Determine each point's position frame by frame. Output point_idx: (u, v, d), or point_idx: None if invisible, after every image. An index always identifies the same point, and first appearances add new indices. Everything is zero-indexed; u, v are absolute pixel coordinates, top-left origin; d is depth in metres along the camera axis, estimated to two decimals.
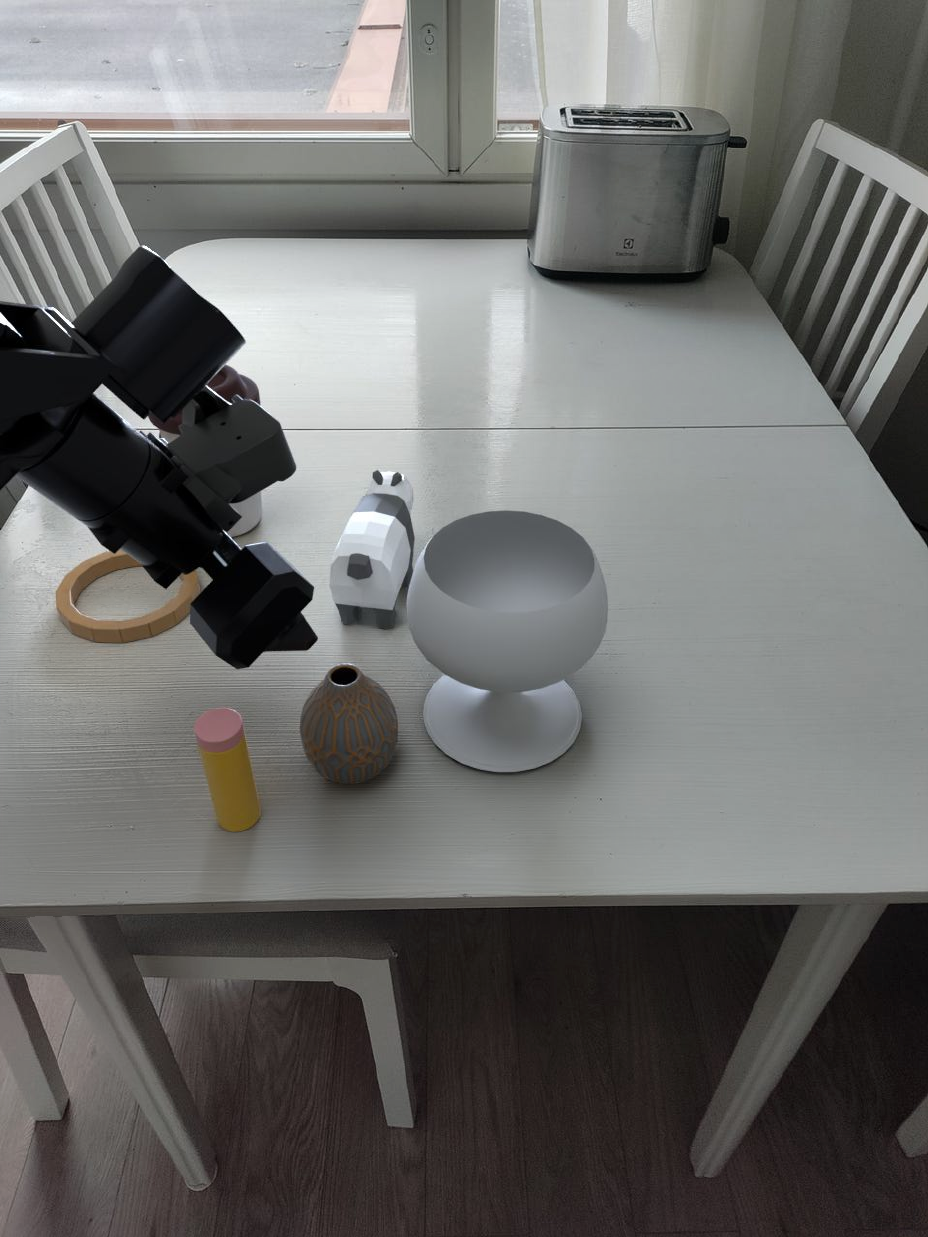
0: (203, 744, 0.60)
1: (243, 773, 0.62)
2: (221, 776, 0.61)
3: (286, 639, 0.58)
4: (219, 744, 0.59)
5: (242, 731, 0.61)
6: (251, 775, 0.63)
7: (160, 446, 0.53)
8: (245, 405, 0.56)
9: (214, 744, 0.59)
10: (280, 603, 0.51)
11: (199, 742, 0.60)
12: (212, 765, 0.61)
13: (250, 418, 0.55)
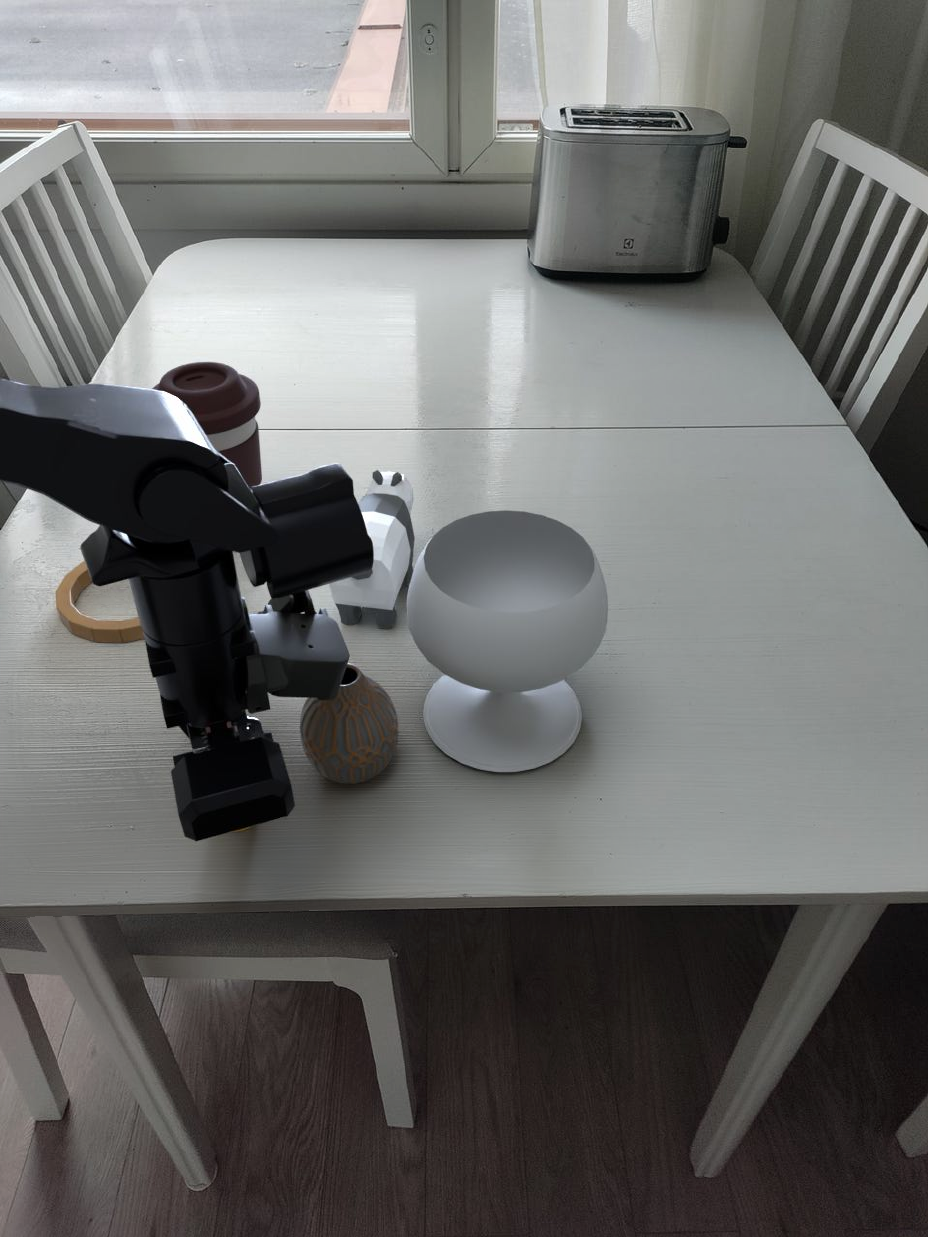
0: None
1: None
2: None
3: None
4: None
5: None
6: None
7: (245, 614, 0.57)
8: (328, 622, 0.60)
9: None
10: (261, 804, 0.52)
11: None
12: None
13: (327, 636, 0.59)
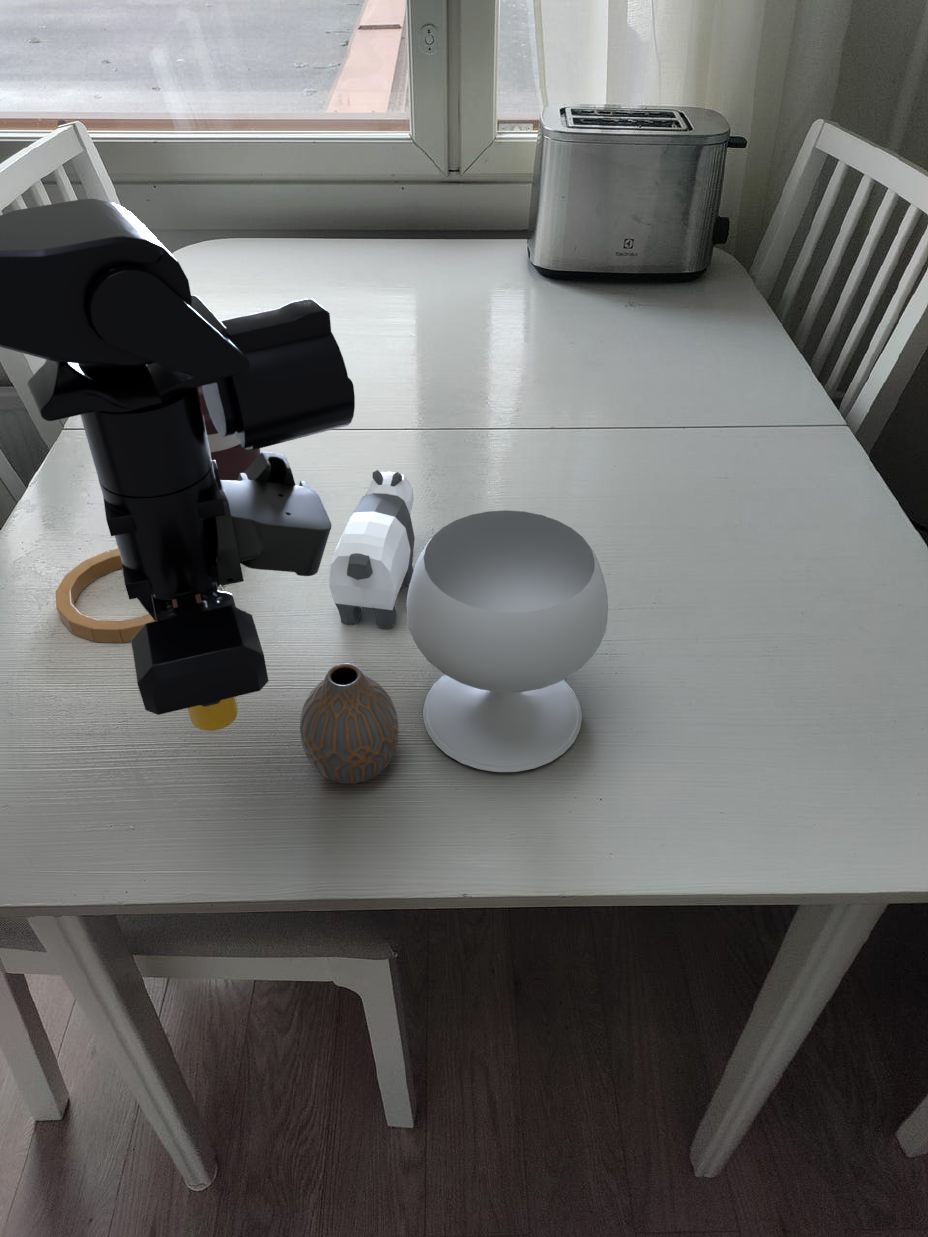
0: None
1: None
2: None
3: None
4: None
5: None
6: None
7: (215, 476, 0.52)
8: (309, 494, 0.55)
9: None
10: (230, 674, 0.47)
11: None
12: None
13: (307, 506, 0.54)
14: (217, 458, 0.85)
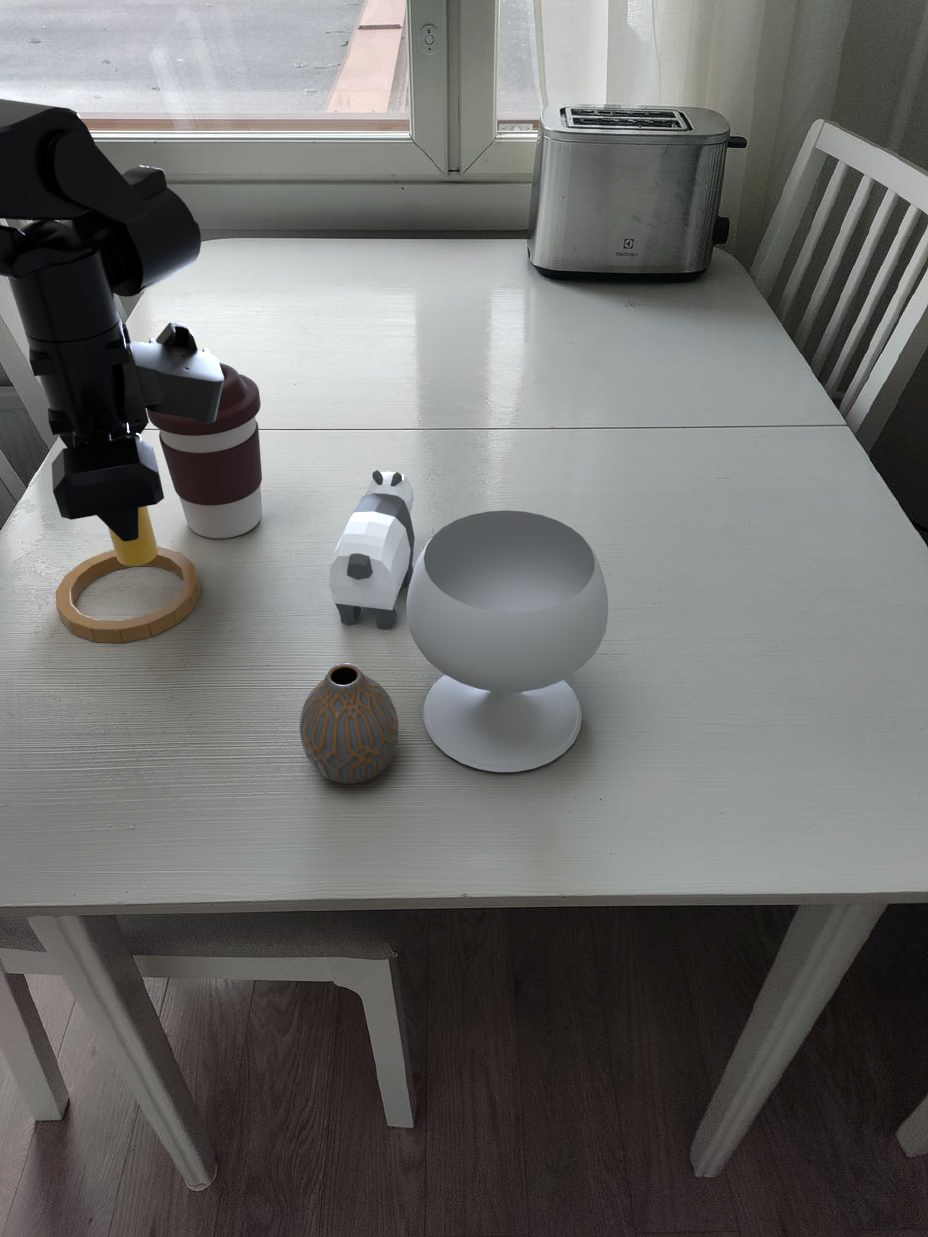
0: None
1: None
2: None
3: (113, 514, 0.66)
4: None
5: None
6: (144, 508, 0.69)
7: (125, 336, 0.63)
8: (208, 357, 0.66)
9: None
10: (130, 486, 0.58)
11: None
12: None
13: (205, 364, 0.65)
14: (217, 458, 0.85)
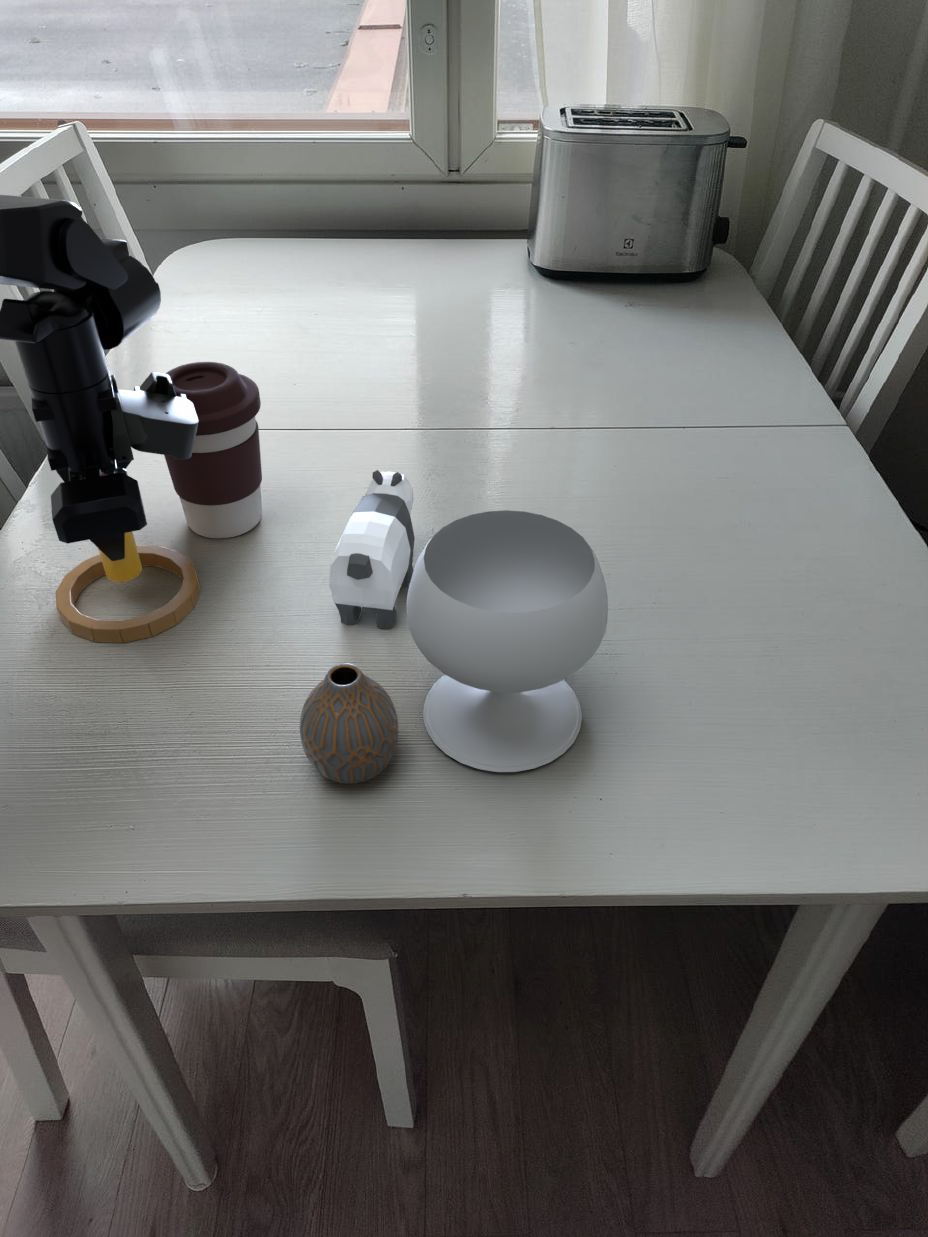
0: None
1: None
2: None
3: (103, 537, 0.77)
4: None
5: None
6: None
7: (113, 385, 0.73)
8: (185, 402, 0.77)
9: None
10: (117, 515, 0.69)
11: None
12: None
13: (182, 409, 0.75)
14: (217, 458, 0.85)
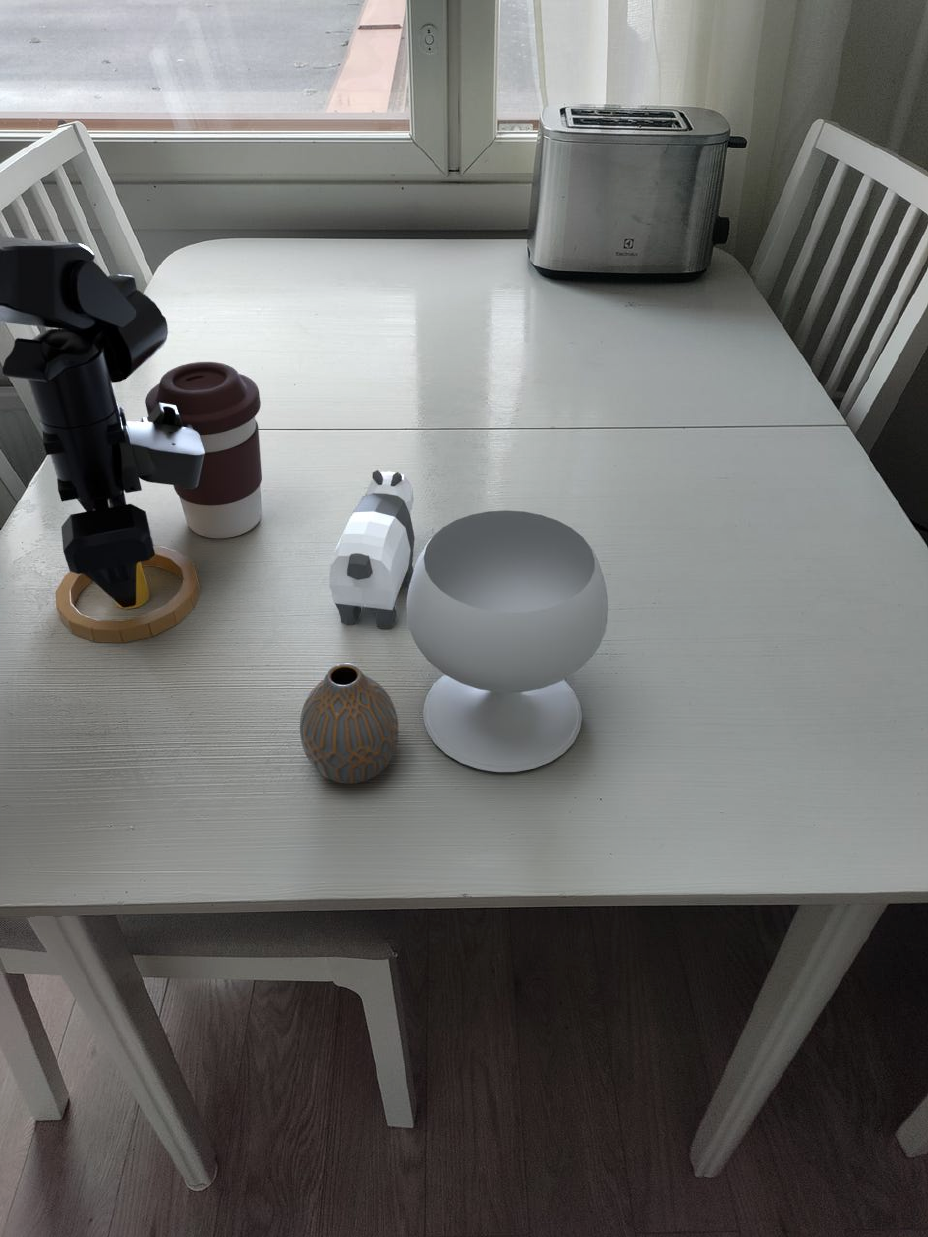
0: None
1: None
2: None
3: (114, 586, 0.76)
4: None
5: None
6: None
7: (122, 418, 0.75)
8: (191, 432, 0.78)
9: None
10: (126, 546, 0.70)
11: None
12: None
13: (189, 440, 0.77)
14: (217, 458, 0.85)
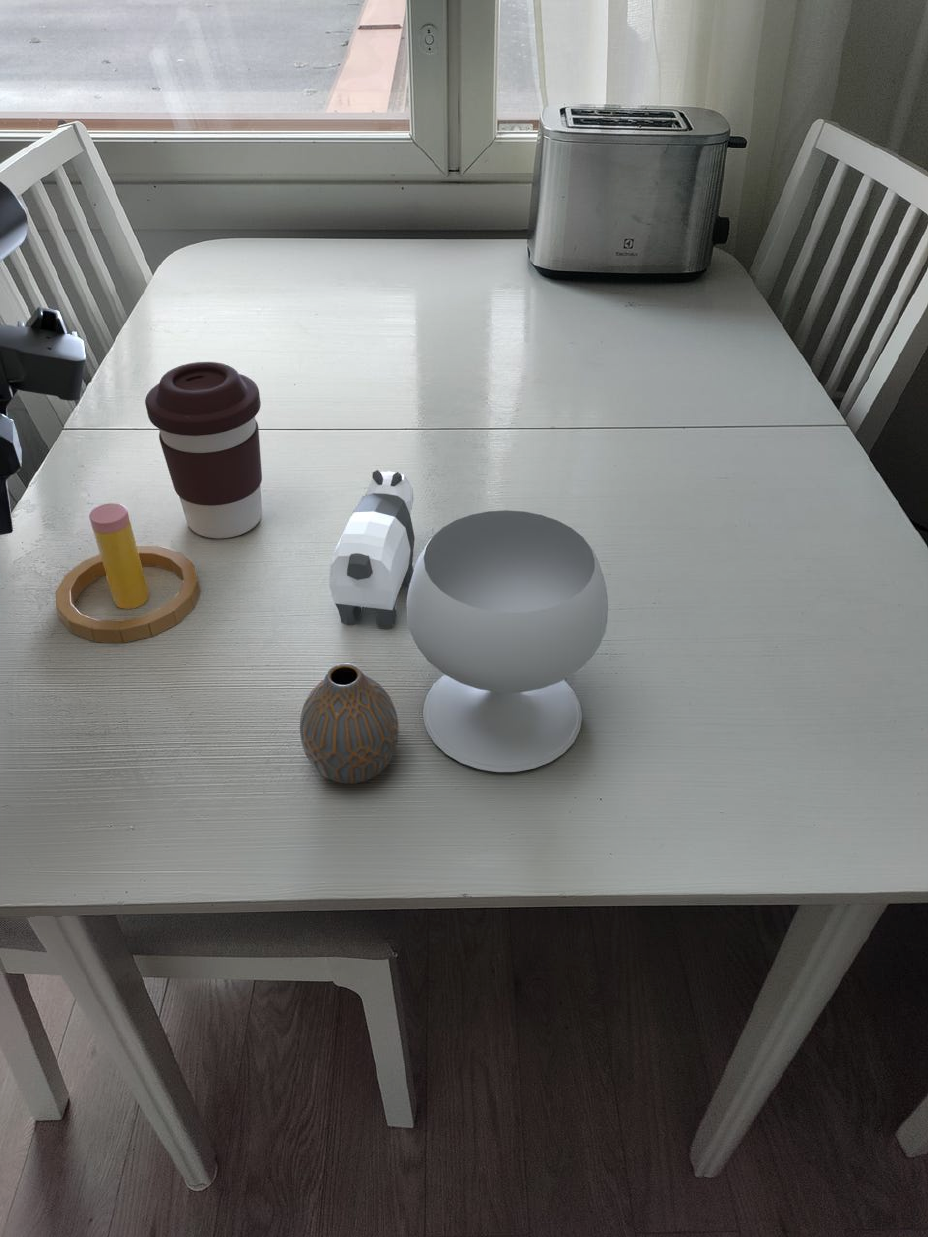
0: (95, 526, 0.78)
1: (129, 554, 0.80)
2: (111, 555, 0.79)
3: None
4: (107, 525, 0.77)
5: (127, 519, 0.79)
6: (138, 560, 0.81)
7: None
8: (74, 339, 0.70)
9: (103, 525, 0.77)
10: None
11: (93, 525, 0.78)
12: (104, 546, 0.79)
13: (69, 346, 0.69)
14: (217, 458, 0.85)
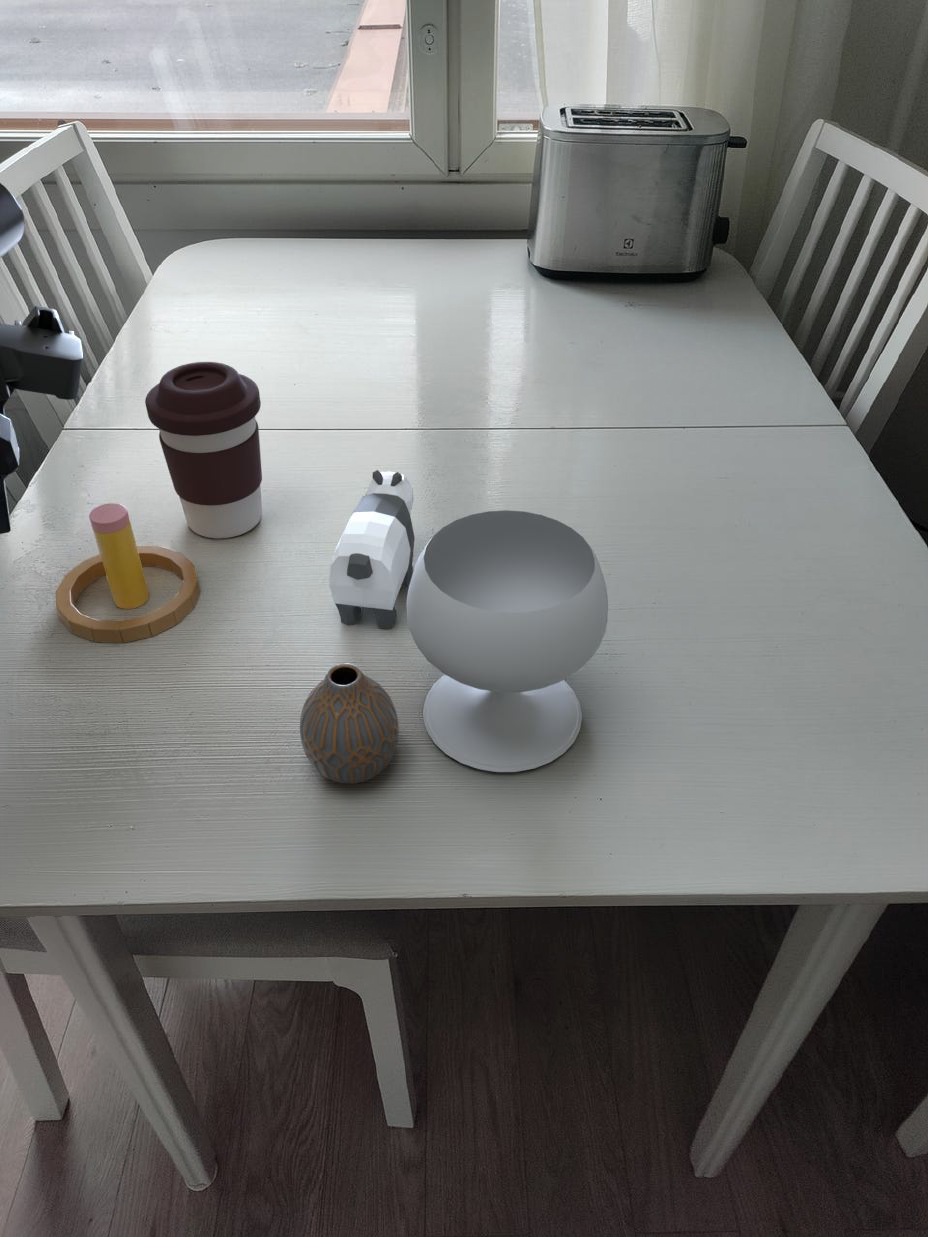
0: (95, 526, 0.78)
1: (129, 554, 0.80)
2: (111, 555, 0.79)
3: None
4: (107, 525, 0.77)
5: (127, 519, 0.79)
6: (138, 560, 0.81)
7: None
8: (71, 338, 0.70)
9: (103, 525, 0.77)
10: None
11: (93, 525, 0.78)
12: (104, 546, 0.79)
13: (66, 345, 0.69)
14: (217, 458, 0.85)
